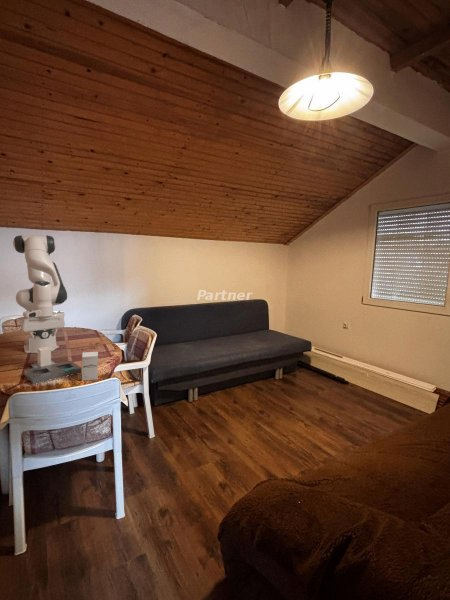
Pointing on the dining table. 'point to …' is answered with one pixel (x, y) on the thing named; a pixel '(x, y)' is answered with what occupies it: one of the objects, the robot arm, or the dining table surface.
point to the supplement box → (89, 366)
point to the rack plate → (51, 371)
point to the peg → (44, 356)
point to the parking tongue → (39, 366)
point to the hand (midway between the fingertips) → (43, 337)
